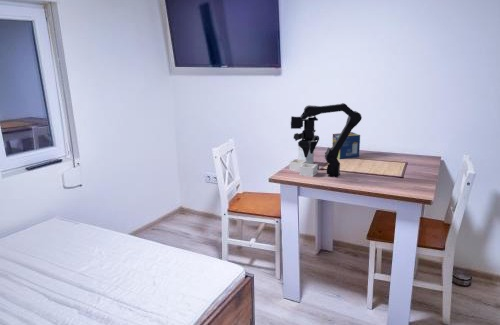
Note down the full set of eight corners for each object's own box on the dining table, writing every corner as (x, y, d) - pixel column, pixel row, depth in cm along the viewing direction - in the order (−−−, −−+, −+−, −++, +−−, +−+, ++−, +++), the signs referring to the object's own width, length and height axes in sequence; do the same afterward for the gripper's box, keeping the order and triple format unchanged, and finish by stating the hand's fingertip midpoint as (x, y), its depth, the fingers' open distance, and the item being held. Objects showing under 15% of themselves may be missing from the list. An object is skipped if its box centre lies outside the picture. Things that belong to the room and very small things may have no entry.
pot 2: (317, 174, 217) (317, 164, 215) (312, 178, 210) (312, 168, 208) (304, 172, 220) (304, 163, 219) (299, 176, 213) (299, 166, 212)
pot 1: (306, 169, 227) (306, 160, 225) (302, 173, 220) (302, 163, 218) (294, 168, 230) (294, 158, 229) (289, 171, 224) (289, 162, 222)
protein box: (331, 155, 258) (332, 133, 254) (351, 153, 262) (352, 132, 258) (339, 159, 248) (340, 136, 244) (359, 157, 253) (360, 134, 249)
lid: (312, 169, 230) (312, 161, 228) (325, 170, 226) (325, 163, 224) (306, 172, 222) (307, 164, 221) (320, 174, 218) (320, 166, 217)
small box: (313, 166, 234) (314, 145, 231) (305, 167, 231) (305, 147, 228) (305, 163, 241) (306, 143, 238) (297, 164, 238) (298, 144, 235)
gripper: (301, 125, 219) (301, 150, 224) (289, 130, 204) (289, 157, 208) (319, 126, 214) (319, 152, 218) (308, 131, 199) (308, 159, 203)
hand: (308, 155), depth 212 cm, fingers open, 9 cm apart
